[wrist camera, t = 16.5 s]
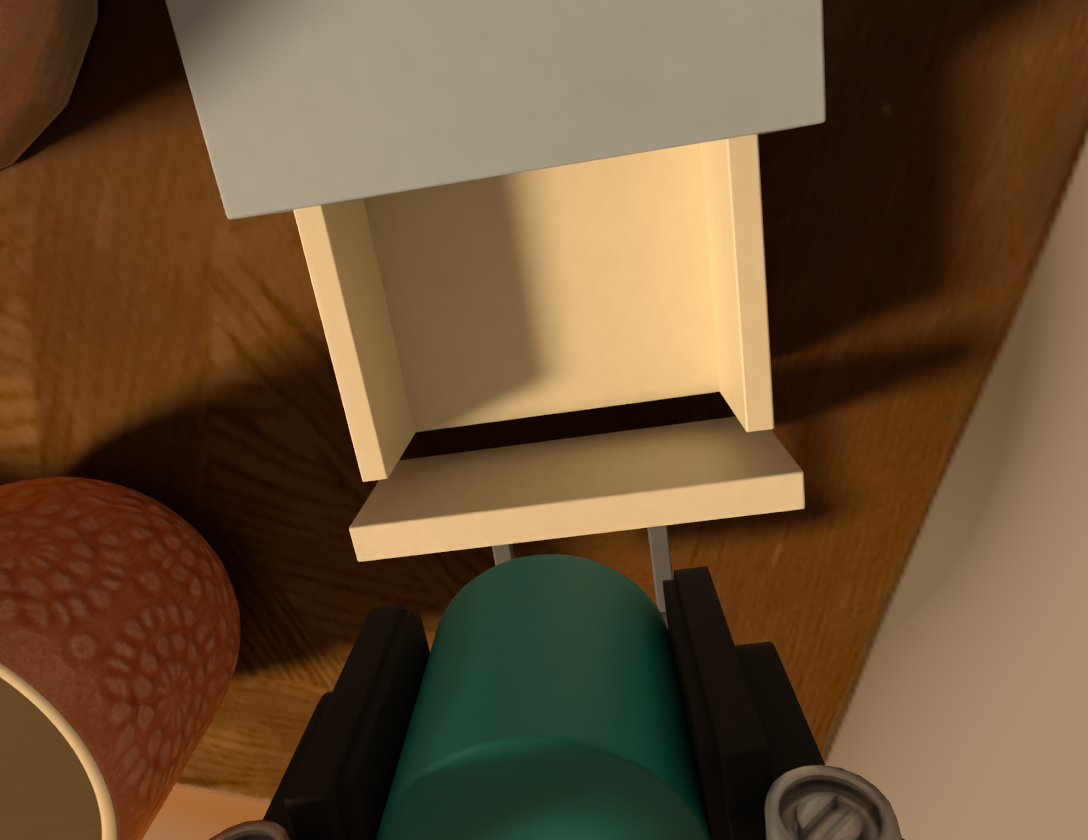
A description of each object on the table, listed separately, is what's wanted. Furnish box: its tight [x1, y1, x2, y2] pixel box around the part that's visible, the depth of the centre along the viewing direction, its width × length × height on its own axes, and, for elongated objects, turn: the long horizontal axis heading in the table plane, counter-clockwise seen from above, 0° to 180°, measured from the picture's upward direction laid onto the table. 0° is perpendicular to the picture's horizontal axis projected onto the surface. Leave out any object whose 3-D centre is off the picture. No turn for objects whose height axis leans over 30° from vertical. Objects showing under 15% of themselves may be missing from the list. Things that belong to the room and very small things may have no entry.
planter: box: [0, 477, 241, 840], centre depth 25 cm, size 12×12×11 cm
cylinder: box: [376, 554, 711, 840], centre depth 10 cm, size 4×4×4 cm
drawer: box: [294, 134, 805, 628], centre depth 23 cm, size 19×13×5 cm
